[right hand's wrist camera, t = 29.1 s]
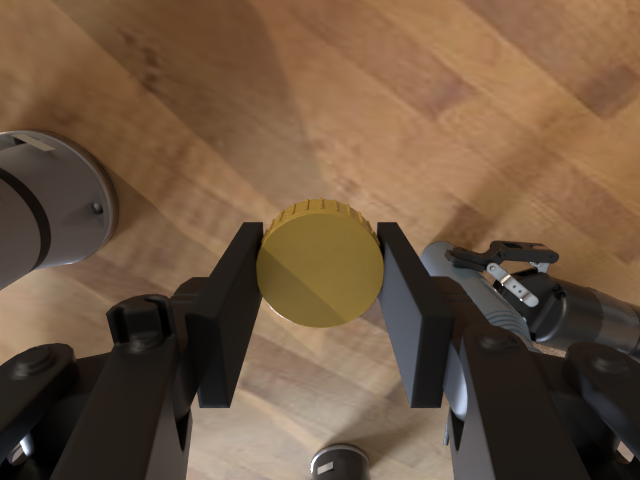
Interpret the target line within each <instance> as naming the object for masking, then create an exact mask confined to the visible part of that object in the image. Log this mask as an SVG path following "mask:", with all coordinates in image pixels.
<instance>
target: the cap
mask: <svg viewBox="0 0 640 480" xmlns="http://www.w3.org/2000/svg"><path fill="white" fill-rule="evenodd" d="M261 244H262V245H261V247H260V250H259V252H258V257H257V261H256V270H257V283H258V287H259V290H260V292H261V294H262V296H263V298H264V299H265V301H266V302H267V304H268V305H269V306H270V307H271V308H272V309H273V310H274V311H275V312H276V313H277V314H279V315H280V316H282V317H283V318H285V319H286V320H288V321H290V322H292V323H295V324H298V325H301V326H305V327H311V328H329V327H335V326H339V325H342V324H345V323H348V322H350V321H352V320H354V319H356V318H357V317H359V316H360V315H362V314H363V313H364V312H365V311H366V310H367V309H368V308H369V307H370V306H371V305H372V304H373V302H374V301H375V300H376V298H377V296H378V295H379V293H380V290H381V288H382V285H383V273H384V260H383V255H382V253H381V250H380V247H379V246H381V245H380V243H379V240H378V238H377V236H376V233H375V231H374V232H373V230H372V228H371V225H370V223H369V221H366V220H365V219H364V218H363V216H362V215H361V213H360V212H359V211H358V212H357V211H356V210H354V209H353V208H351V207H350V206H349V205H348V204H347V205H345V204H343V203H340V202H337V201H336V200H334V201H333V200H326V199H323V198H320V199H315V200H309V199H306V201H304V202H300V203H298V204H296V203H294V204H293V206H291V207H289V208H288V209H286V210H285V211H284V210H282V212H281V214H280V215H279V216H278V217H277V218H276V219H273V220H272V223H271V225H270V227H269V229H268V230H266V232H265V234H264V237H263V239H262V241H261Z"/></svg>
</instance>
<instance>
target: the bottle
mask: <svg viewBox="0 0 640 480" xmlns="http://www.w3.org/2000/svg"><path fill="white" fill-rule="evenodd" d="M454 247H455V246H454V245H453V244H451V243H449V242H444V241H440V242H435V243H433V244H431V245H429V246H428V247H426V248H425V249H424V251H423V252H422V254H421V256H420V260H421V262H422V263H423V265H424V266H425V268H426V270H427V271H428V273H429V274H430V276H448V277H450V278H451V279H453V280H455V281H456V282H458V283H459V284H460V285H461V286H462V287H463V288H464V290H465V291H466V292H467V295H469V296H470V297H471V299H472V300H473V302H474V303H475V304H476V305H477V307H478V308H479V309H480V310H481V312H482V313H483V314H484V316H485V317H486V318H487V320H488V321H489V322H490V323H491V325H495V326H500V327H502V328H504V329H507V330H509V331H511V332H513V333H514V334H516V335H517V336H518V337H520V338H521V339H522V341H523V342H524V343H525V344H526V346H527V348H528V350H530V351H534V352H538V353H542V352H541V351H539V350H538V349H536V347H535V346H534V345H533V344H532V343H531V339H530V334H529V329H528V326H527V324H526V322H525V320H524V319H523V318H522V316H521V315H520V314H519V313H518V312H517V311H516V310H515V309H514V308H513V307H512V306H511V305H510V304H509V303H508V302H507V301H506V300H505V299H504V297H503V296H502V295H501V294H500V293H499V292H498V291H497V290H496V289H495V288H494V287H493V286H492V285H491V284H490V283H489V282H488V281H487V279H486V278H485V277H484V276H483V275H482V274H481V273H480V272H479V271H476V270H473V269H469V268H465V267H462V266H459V265H455V264H452V263H450V262H449V261H448V260H447V259H446V258H445V256H444V254H445V252H446V250H447V249H448V250H453V248H454Z"/></svg>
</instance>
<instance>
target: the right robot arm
mask: <svg viewBox="0 0 640 480" xmlns="http://www.w3.org/2000/svg"><path fill="white" fill-rule="evenodd" d="M117 221H118V201H117V196H116V193H115V190H114V187H113V185H112V183H111V180H110V178H109V177H108V175H107V173H106V172H105V170H104V169H103V168H102V166H101V165H100V164H99V163H98V161H97V160H96V159H95V158H94V157H93V156H92V155H91V154H90V153H88V152H87V151H86V150H85V149H83V148H82V147H81V146H79V145H78V144H76V143H75V142H73V141H71V140H69V139H67V138H65V137H63V136H61V135H58V134H55V133H52V132H48V131H43V130H32V129H29V130H17V131H8V132H3V133H0V290H1V289H3V288H5V287H6V286H8V285H10V284H11V283H13V282H14V281H16V280H18V279H19V278H21V277H23V276H24V275H26V274H27V273H29V272H31V271H33V270H36V269H42V268H47V267H53V266H58V265H64V264H70V263H74V262H78V261H81V260H83V259H85V258H87V257H89V256H90V255H92V254H93V253H95V252H96V251H98V250H99V249H101V248H102V247H103V246H104V245H105V244H106V243H107V242H108V241H109V240H110V238H111V237H112V235H113V233H114V231H115V228H116V225H117ZM263 237H264V234H263V222H244V223H243V224H242V226H241V227H240V229H239V231H238V232H237V234H236V235H235V237H234V238H233V240H232V242H231V243H230V245H229V246H228V248H227V249H226V251H225V253H224V254H223V256H222V257H221V259H220V260H219V262H218V264H217V265H216V267H215V268H214V270H213V271H212V273H211V275H210V276H209V277H192V278H191V279H189V280H188V281H186V282H184V283H183V284H181V285H180V286H179V288H178V289H177V290H176V292H175V293H174V295H173V296H172V297H171V298H170V299H169V298H168V297H166V296H163V295H158V294H146V295H141V296H136V297H132V298H129V299H127V300H124V301H121V302H120V303H118V304H116V305H115V306H113V307H112V308H111V309H110V310H109V311H108V312H107V313H106V316H107V319H108V323H109V327H110V331H111V335H112V338H113V342H114V347H113V349H112V351H111V352H109V353H105V354H100V355H95V356H90V357H85V358H80V359H76V357H75V354H74V351H73V349H72V348H71V347H70V346H69V345H67V344H60V343H55V344H45V345H40V346H38V347H37V346H36V347H33V348H30V349H28V350H26V351H24V352H22V353H20V354H18V355H16V356H14V357H13V358H11V359H10V360H8V361H7V362H5V363H4V364H2V365H1V366H0V480H186V473H187V465H188V456H189V448H190V440H191V432H192V423H193V420H192V413H191V408H190V406H191V404H192V402H193V399H194V397H195V395H196V392H197V395H198V401H199V407H200V408H230V405H231V402H232V398H233V395H234V391H235V388H236V385H237V381H238V378H239V375H240V371H241V368H242V364H243V361H244V358H245V354H246V351H247V347H248V344H249V341H250V337H251V334H252V331H253V327H254V324H255V320H256V317H257V314H258V310H259V307H260V303H261V300H262V297H263V296H262V294H261V292H260V290H259V287H258V283H257V270H256V261H257V257H258V252H259V250H260V247H261V245H262V244H261V241H262V239H263ZM377 238H378V240H379V243H380V245H381V246H379V247H380V250H381V253H382V255H383V260H384V273H383V285H382V288H381V290H380V293H379V295H378V299H379V303H380V306H381V309H382V313H383V316H384V320H385V323H386V326H387V330H388V333H389V337H390V340H391V343H392V347H393V350H394V353H395V357H396V360H397V364H398V367H399V370H400V374H401V377H402V381H403V384H404V387H405V391H406V394H407V397H408V401H409V404H410V408H441V402H442V396H443V390H444V392H445V394H446V397H447V399H448V401H449V404H450V408H449V413H448V419H447V425H446V430H445V436H444V443H443V445H448V443H449V439H450V447H451V455H452V464H453V472H454V480H640V363H638V362H637V361H635V360H634V359H632V358H631V357H629V356H628V355H626V354H625V353H623V352H620V351H618V350H616V349H614V348H612V347H610V346H607V345H603V344H599V343H592V342H577V343H573V344H571V345H570V346H569V347H568V349H567V352H566V355H565V358H563V357H558V356H553V355H548V354H543V353H538V352H534V351H530V350H528V348H527V346H526V344H525V343H524V342H523V341H522V339H521V338H520V337H518V336H517V335H516V334H514V333H513V332H511V331H509V330H507V329H504V328H502V327H500V326H495V325H491V323H490V322H489V321H488V320H487V318H486V317H485V316H484V314H483V313H482V312H481V310H480V309H479V308H478V307H477V305H476V304H475V303H474V302H473V300H472V299H471V297H470V296H469V295H467V292H466V291H465V290H464V288H463V287H462V286H461V285H460V284H459V283H458V282H456V281H455V280H453V279H451V278H450V277H448V276H430V274H429V273H428V271H427V270H426V268H425V266H424V265H423V263H422V262H421V260H420V259H419V257H418V255H417V254H416V252H415V251H414V249H413V247H412V246H411V244H410V243H409V241H408V240H407V238H406V236H405V235H404V233H403V232H402V230H401V229H400V227H399V225H398V224H397V222H377ZM620 441H622V442H623V443H624V444H625V445H626V446H627V447H628V449H629V450H630V451H631V452H632V453H633V454H634V457H633V459H632V461H631V462H629V461H628V460H626V459H625V458H624V457H623V456H622V455H621V453H620V452H619V451H618V450H617V448H618V446H619V444H620ZM19 443H21V445H22V447H23V450H24V451H23V452H22V454H21V455H20V456H19V457H18V458H17V459H16V460H15V461H13V462H12V463H10V462H9V461H8V459H7V456H8V455H9V454H10V453H11V452H12V451H13V449H14V448H15V447H16V446H17V445H18V444H19Z"/></svg>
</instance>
